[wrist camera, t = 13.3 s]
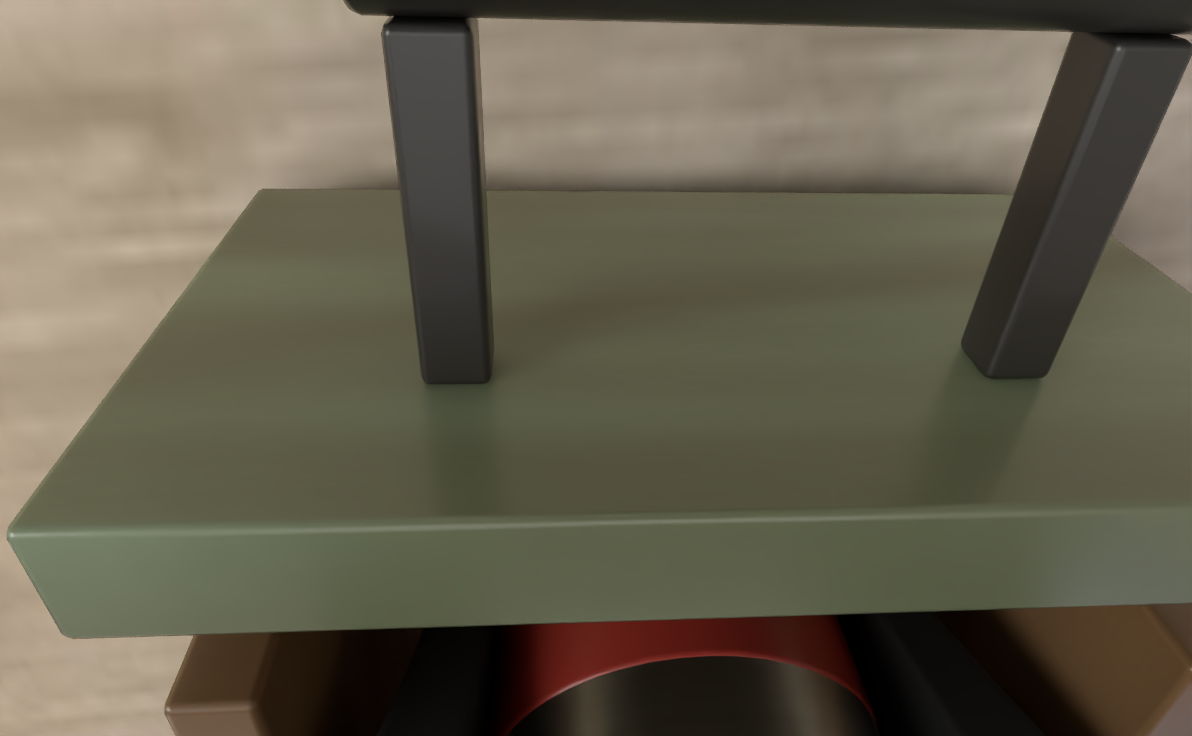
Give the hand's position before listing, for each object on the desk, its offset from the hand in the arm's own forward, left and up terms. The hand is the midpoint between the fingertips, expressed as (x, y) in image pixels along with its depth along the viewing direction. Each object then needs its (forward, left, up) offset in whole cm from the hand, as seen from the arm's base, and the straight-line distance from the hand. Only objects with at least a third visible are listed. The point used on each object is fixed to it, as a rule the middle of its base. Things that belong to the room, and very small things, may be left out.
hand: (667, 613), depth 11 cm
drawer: (0, -1, -3) cm, 3 cm away
